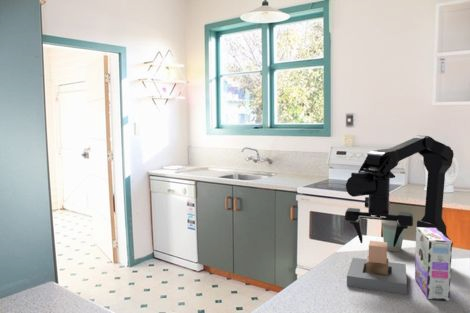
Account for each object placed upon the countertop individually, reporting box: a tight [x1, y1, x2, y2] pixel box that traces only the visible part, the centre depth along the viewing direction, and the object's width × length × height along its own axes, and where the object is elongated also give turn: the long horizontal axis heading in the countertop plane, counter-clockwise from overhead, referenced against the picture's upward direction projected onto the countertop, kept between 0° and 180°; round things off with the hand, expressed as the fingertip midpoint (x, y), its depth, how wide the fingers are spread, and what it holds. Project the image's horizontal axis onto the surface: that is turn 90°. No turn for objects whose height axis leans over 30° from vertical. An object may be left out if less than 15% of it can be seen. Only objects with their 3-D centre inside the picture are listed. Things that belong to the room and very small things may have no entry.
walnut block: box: [366, 255, 389, 276], centre depth 117 cm, size 6×6×5 cm
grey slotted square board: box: [346, 257, 408, 295], centre depth 117 cm, size 16×16×3 cm
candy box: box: [414, 226, 453, 302], centre depth 109 cm, size 14×6×16 cm, turn 168°
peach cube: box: [368, 240, 388, 264], centre depth 117 cm, size 5×5×5 cm
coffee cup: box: [380, 220, 405, 252], centre depth 144 cm, size 8×8×12 cm
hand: (377, 244), depth 116 cm, fingers open, 9 cm apart
